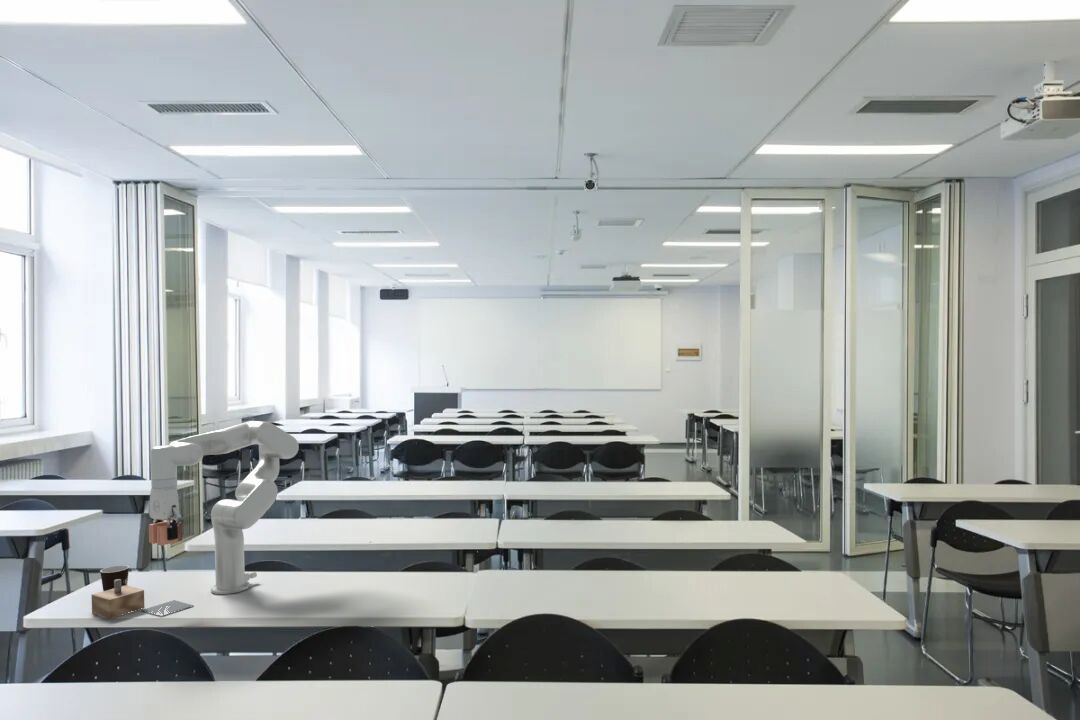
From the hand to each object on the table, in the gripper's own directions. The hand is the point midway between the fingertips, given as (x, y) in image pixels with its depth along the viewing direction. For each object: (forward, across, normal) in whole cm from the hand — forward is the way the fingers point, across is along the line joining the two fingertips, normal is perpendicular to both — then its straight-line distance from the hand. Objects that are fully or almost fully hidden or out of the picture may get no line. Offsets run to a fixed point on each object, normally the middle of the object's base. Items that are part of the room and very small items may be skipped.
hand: (165, 537), depth 240 cm
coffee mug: (+24, -28, -1) cm, 37 cm away
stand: (+23, -13, -9) cm, 28 cm away
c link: (+1, 0, 0) cm, 1 cm away
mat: (+23, 0, 0) cm, 23 cm away
